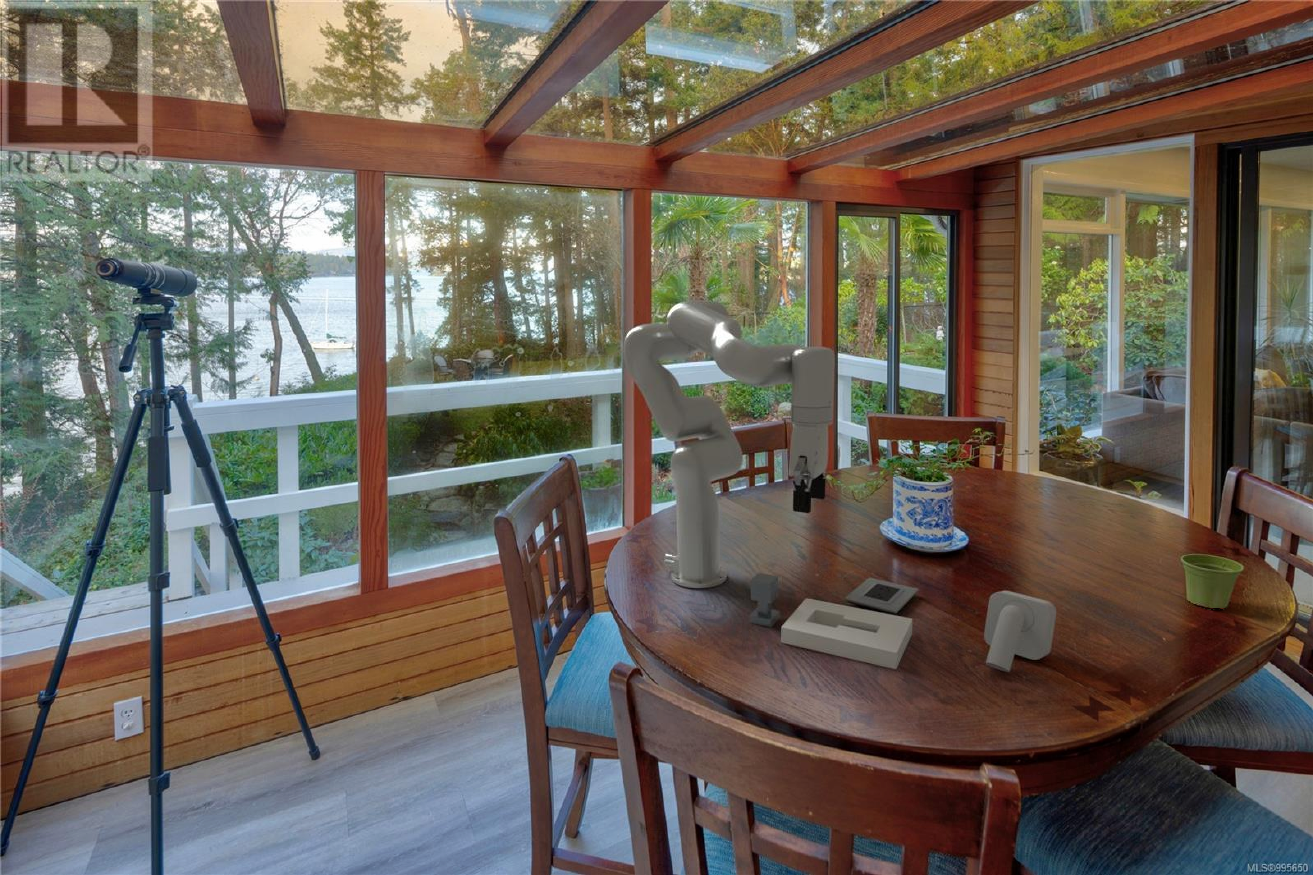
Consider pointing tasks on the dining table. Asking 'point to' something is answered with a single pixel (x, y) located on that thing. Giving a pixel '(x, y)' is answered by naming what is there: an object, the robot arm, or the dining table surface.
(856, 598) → the electrical outlet
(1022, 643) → the wall hook
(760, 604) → the keyhole peg
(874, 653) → the keyhole plate
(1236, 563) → the plant pot
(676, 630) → the dining table surface
